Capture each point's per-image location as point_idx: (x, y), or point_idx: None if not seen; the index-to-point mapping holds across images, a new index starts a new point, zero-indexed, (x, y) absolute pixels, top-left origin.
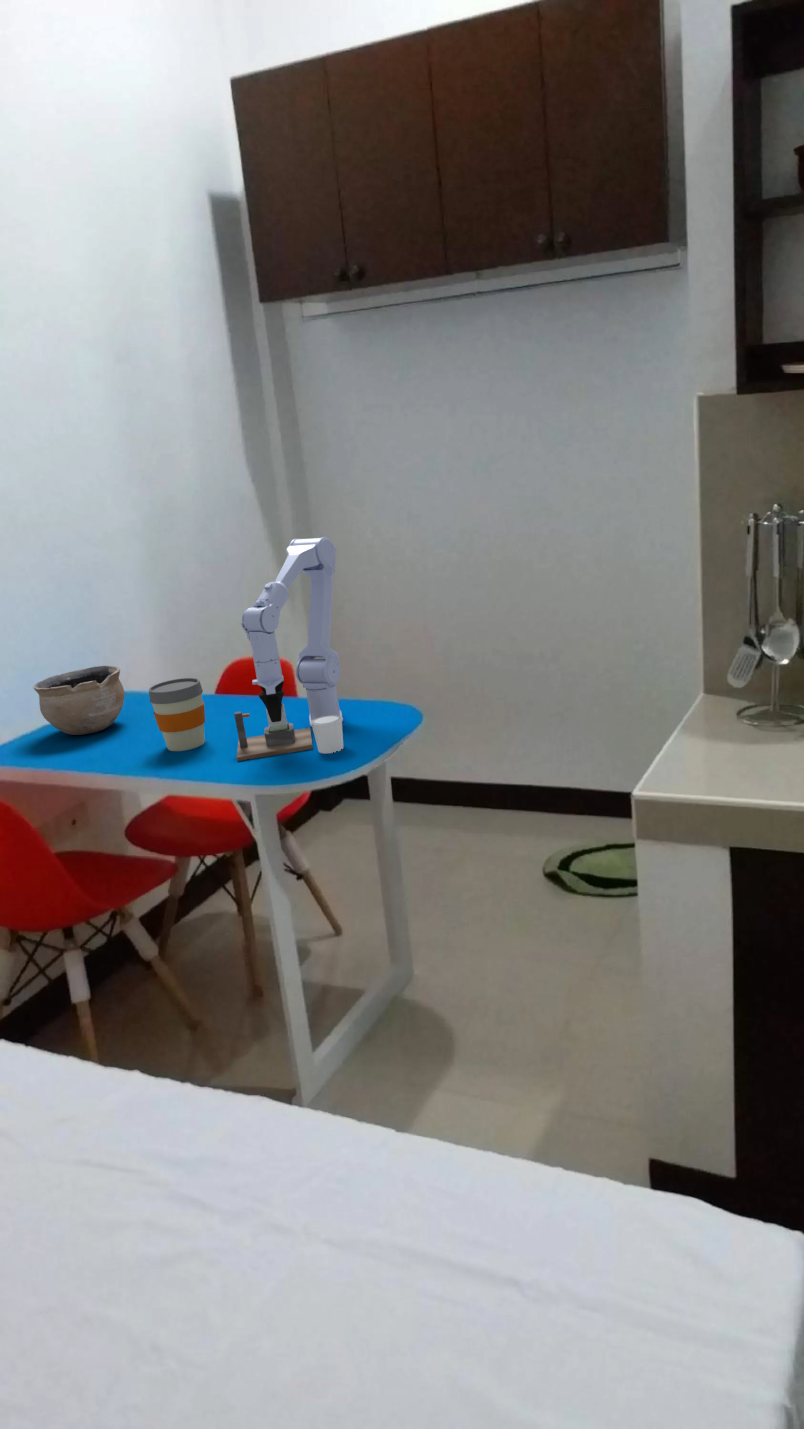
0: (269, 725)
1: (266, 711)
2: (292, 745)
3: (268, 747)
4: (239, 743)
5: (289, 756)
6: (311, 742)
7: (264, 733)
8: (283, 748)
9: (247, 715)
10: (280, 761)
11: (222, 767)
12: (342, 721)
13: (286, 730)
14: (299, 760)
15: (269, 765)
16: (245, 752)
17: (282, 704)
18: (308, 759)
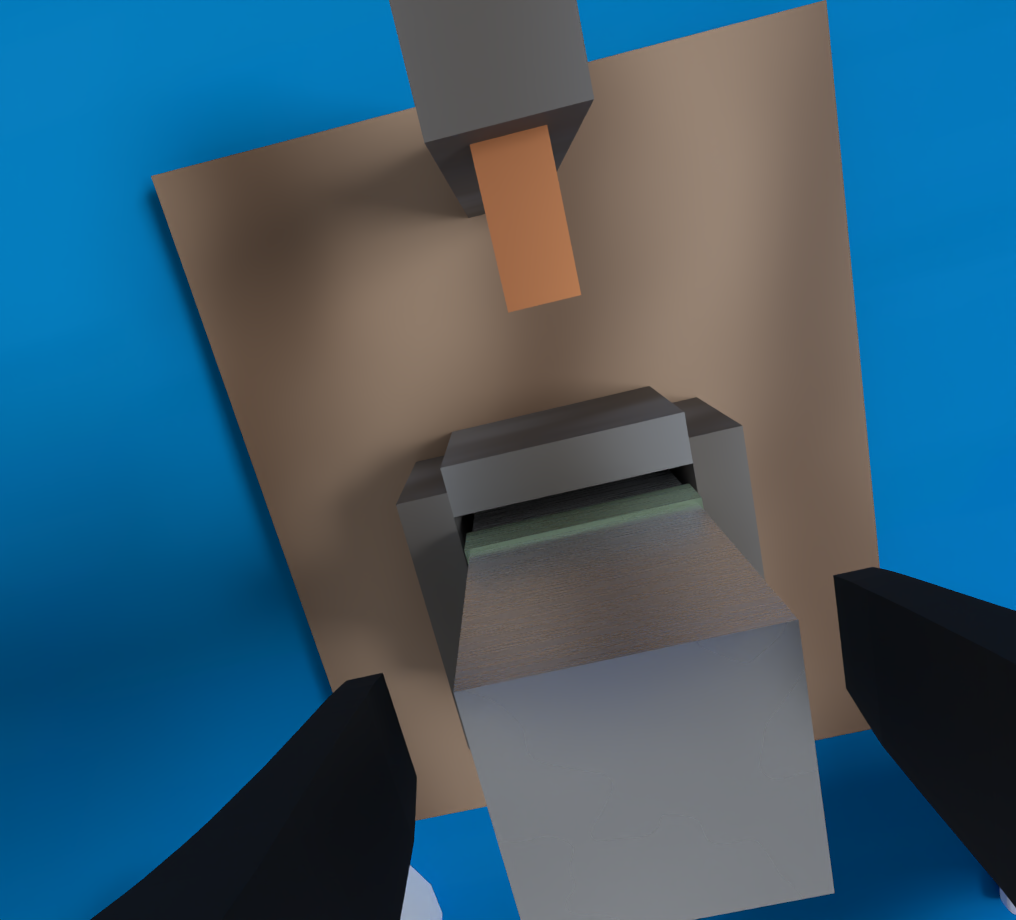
0: (470, 571)
1: (458, 682)
2: (402, 676)
3: (402, 462)
4: (646, 64)
5: (241, 658)
6: (441, 813)
7: (447, 467)
8: (336, 614)
9: (501, 270)
10: (125, 612)
11: (9, 51)
12: (1005, 903)
13: None
14: (130, 753)
15: (32, 542)
16: (292, 242)
17: (758, 890)
18: (144, 812)
